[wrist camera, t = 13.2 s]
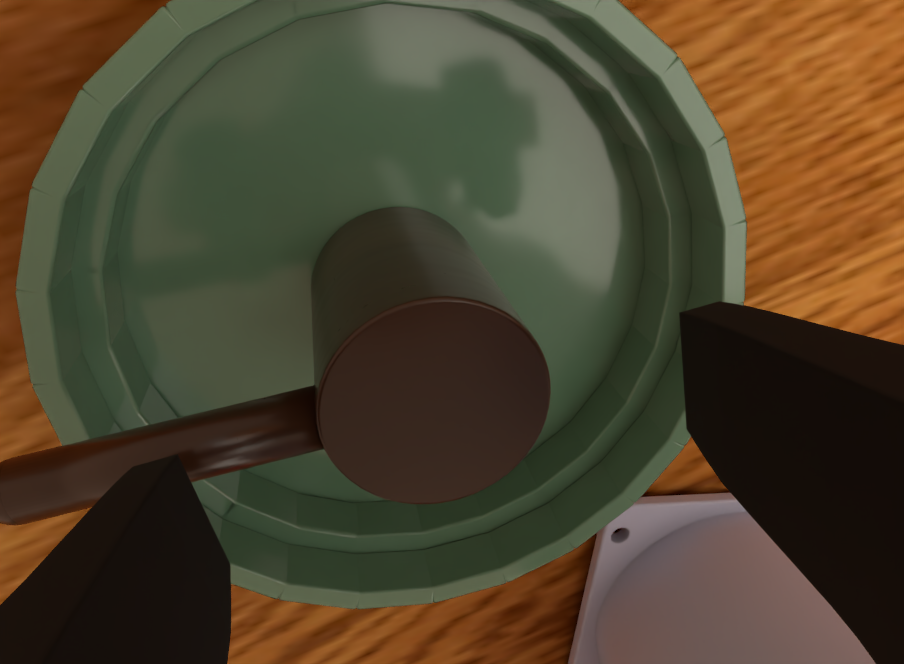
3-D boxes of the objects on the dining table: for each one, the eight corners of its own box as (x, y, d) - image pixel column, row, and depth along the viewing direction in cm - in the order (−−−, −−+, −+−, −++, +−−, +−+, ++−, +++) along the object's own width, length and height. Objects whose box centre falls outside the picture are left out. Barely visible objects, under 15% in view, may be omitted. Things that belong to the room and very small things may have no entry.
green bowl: (615, 506, 19) (664, 586, 17) (109, 532, 17) (72, 632, 14) (735, -12, 14) (837, -16, 12) (25, -100, 11) (-60, -132, 9)
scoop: (489, 342, 16) (562, 473, 12) (105, 435, 15) (23, 615, 11) (465, 189, 14) (539, 273, 10) (33, 282, 13) (-98, 420, 9)
